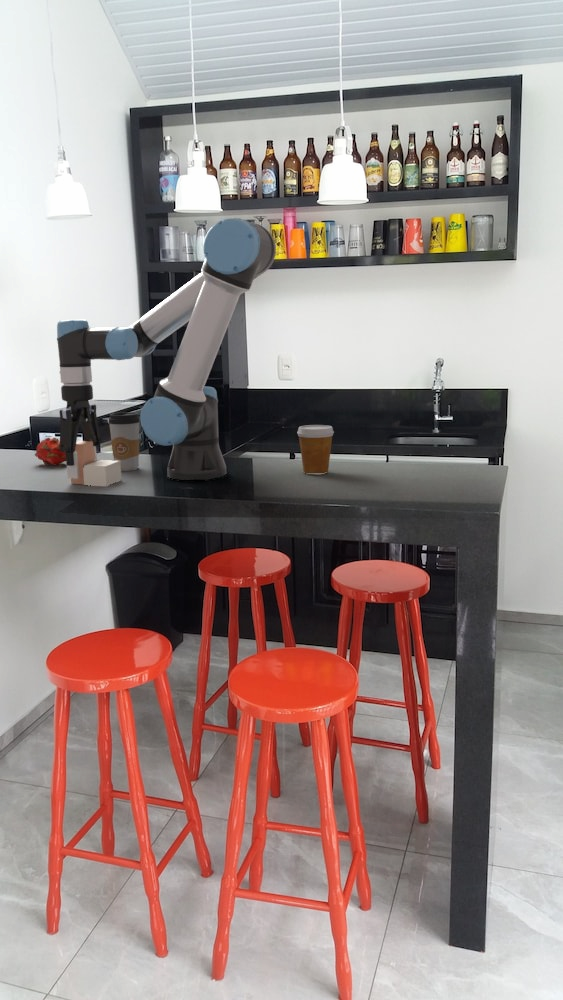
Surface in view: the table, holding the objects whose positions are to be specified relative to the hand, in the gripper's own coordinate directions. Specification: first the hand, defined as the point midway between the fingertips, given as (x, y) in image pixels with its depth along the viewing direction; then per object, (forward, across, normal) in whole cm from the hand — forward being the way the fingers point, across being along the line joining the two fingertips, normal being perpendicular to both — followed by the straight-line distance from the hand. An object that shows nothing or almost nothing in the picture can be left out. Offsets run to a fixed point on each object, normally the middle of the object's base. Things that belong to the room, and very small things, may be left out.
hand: (82, 474), depth 209 cm
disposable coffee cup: (+2, -23, +54) cm, 59 cm away
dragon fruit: (+2, -21, -20) cm, 29 cm away
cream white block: (+2, 0, +6) cm, 6 cm away
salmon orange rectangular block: (+2, 0, 0) cm, 2 cm away
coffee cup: (+2, -19, +2) cm, 19 cm away
